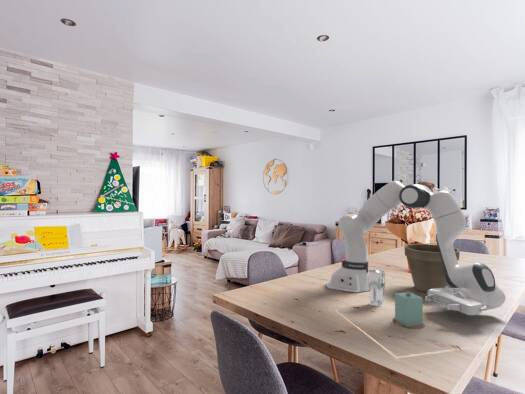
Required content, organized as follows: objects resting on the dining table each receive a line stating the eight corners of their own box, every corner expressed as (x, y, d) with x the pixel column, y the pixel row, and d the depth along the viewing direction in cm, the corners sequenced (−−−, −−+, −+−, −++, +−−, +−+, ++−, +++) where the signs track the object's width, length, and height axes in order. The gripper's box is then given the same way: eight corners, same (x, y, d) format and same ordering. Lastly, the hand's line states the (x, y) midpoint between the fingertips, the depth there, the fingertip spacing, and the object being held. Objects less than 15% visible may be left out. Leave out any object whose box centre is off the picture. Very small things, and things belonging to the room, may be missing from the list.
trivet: (393, 327, 110) (393, 325, 110) (391, 316, 121) (391, 315, 121) (427, 332, 106) (427, 330, 106) (423, 320, 117) (423, 318, 117)
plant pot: (469, 299, 141) (469, 252, 141) (412, 295, 146) (411, 250, 146) (448, 284, 166) (447, 244, 166) (399, 281, 171) (399, 243, 171)
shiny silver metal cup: (381, 302, 137) (381, 269, 137) (388, 307, 130) (387, 272, 130) (365, 302, 137) (365, 269, 137) (371, 308, 130) (371, 272, 130)
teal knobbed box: (406, 326, 110) (406, 295, 110) (395, 319, 116) (395, 290, 116) (422, 325, 111) (422, 294, 111) (410, 318, 117) (410, 289, 118)
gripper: (491, 318, 109) (459, 321, 106) (444, 299, 129) (416, 302, 126) (490, 300, 109) (459, 303, 106) (444, 284, 129) (416, 286, 126)
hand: (435, 302), depth 116 cm, fingers open, 8 cm apart
